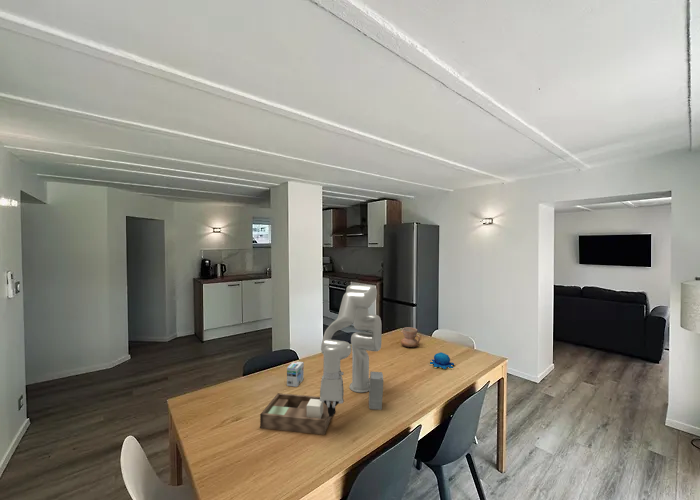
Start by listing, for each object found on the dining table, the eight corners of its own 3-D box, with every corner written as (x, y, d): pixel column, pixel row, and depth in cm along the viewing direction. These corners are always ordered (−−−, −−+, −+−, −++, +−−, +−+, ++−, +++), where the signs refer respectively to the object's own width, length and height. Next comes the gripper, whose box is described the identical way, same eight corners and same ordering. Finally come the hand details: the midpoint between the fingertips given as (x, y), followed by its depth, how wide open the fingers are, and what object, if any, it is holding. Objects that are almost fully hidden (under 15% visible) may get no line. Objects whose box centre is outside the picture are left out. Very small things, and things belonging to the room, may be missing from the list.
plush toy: (455, 363, 206) (456, 351, 206) (452, 372, 191) (452, 359, 191) (431, 359, 213) (431, 347, 213) (427, 367, 198) (427, 355, 198)
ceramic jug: (396, 345, 243) (396, 328, 243) (405, 341, 253) (406, 325, 253) (414, 351, 230) (414, 333, 230) (424, 347, 240) (424, 329, 240)
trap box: (334, 410, 143) (334, 398, 144) (324, 434, 124) (324, 420, 124) (277, 405, 148) (277, 393, 148) (260, 427, 129) (260, 414, 129)
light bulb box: (297, 387, 168) (297, 368, 168) (286, 386, 169) (286, 367, 169) (303, 379, 178) (304, 361, 178) (293, 378, 179) (293, 360, 179)
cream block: (323, 412, 134) (323, 399, 134) (319, 420, 128) (319, 406, 128) (310, 411, 135) (310, 398, 135) (306, 419, 129) (306, 405, 129)
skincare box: (368, 401, 152) (368, 370, 153) (382, 401, 152) (382, 371, 152) (369, 410, 144) (369, 377, 144) (383, 410, 144) (383, 378, 144)
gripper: (349, 371, 133) (349, 412, 133) (317, 369, 135) (317, 409, 135) (347, 378, 125) (346, 421, 125) (313, 376, 128) (313, 418, 128)
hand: (331, 415), depth 130 cm, fingers closed
